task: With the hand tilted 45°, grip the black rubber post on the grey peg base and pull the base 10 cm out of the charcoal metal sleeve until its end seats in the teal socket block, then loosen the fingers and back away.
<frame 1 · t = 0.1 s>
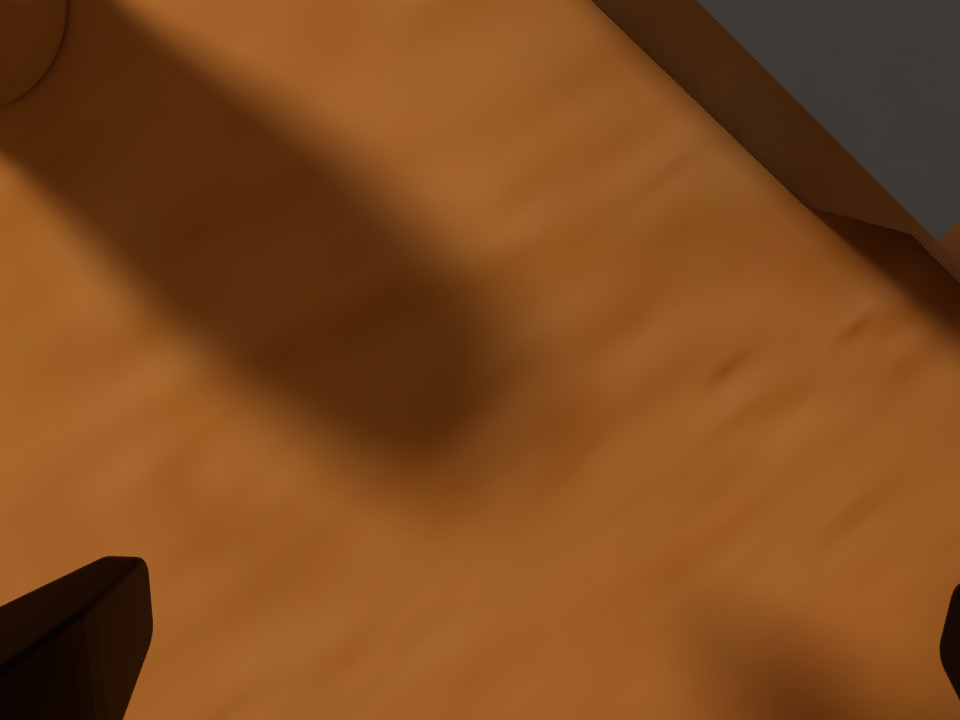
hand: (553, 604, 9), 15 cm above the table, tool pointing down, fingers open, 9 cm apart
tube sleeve: (887, 118, 22), on the table
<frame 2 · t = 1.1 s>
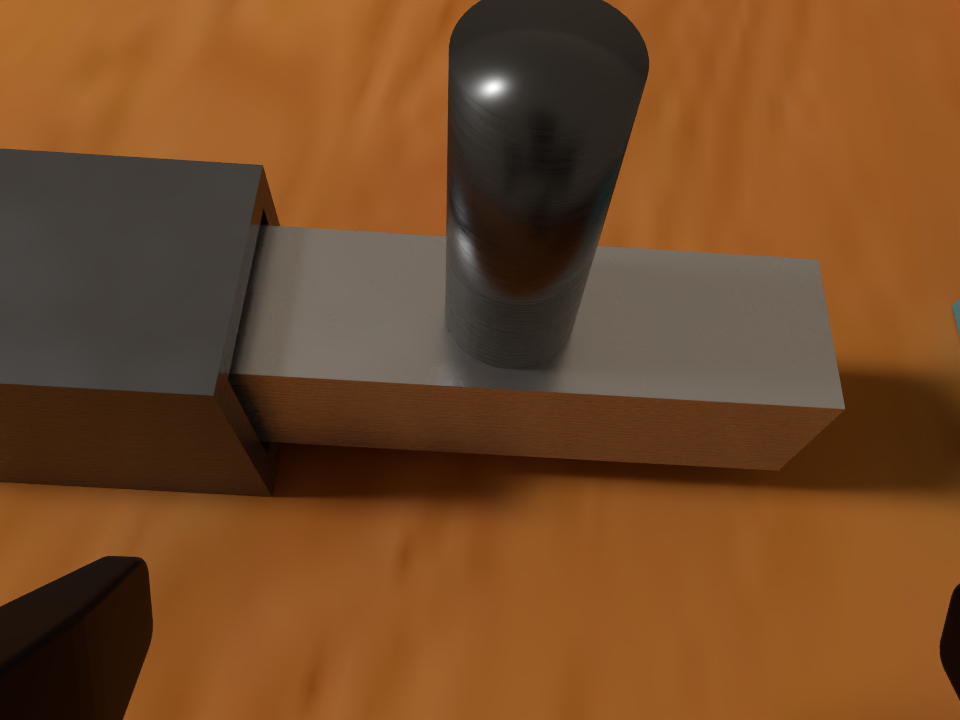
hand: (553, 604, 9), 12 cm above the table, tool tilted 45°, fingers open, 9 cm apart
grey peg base: (279, 254, 17), point 7 cm above the table, slide at 0.0 cm
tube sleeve: (288, 396, 24), on the table
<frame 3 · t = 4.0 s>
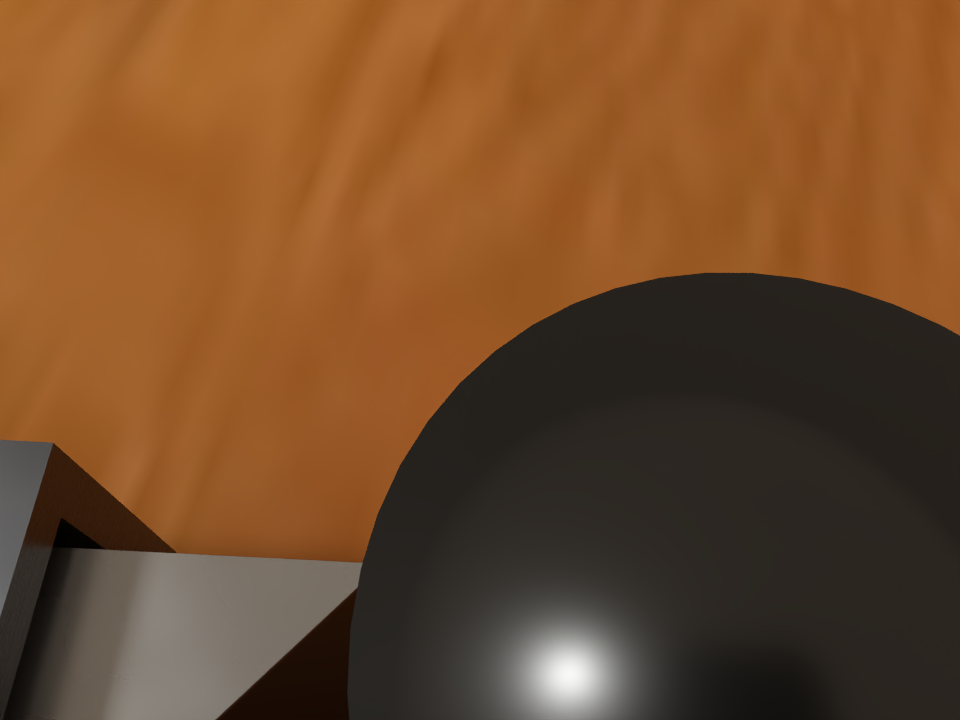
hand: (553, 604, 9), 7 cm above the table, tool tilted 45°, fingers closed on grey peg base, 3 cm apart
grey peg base: (37, 715, 8), point 7 cm above the table, slide at 0.0 cm, touching gripper
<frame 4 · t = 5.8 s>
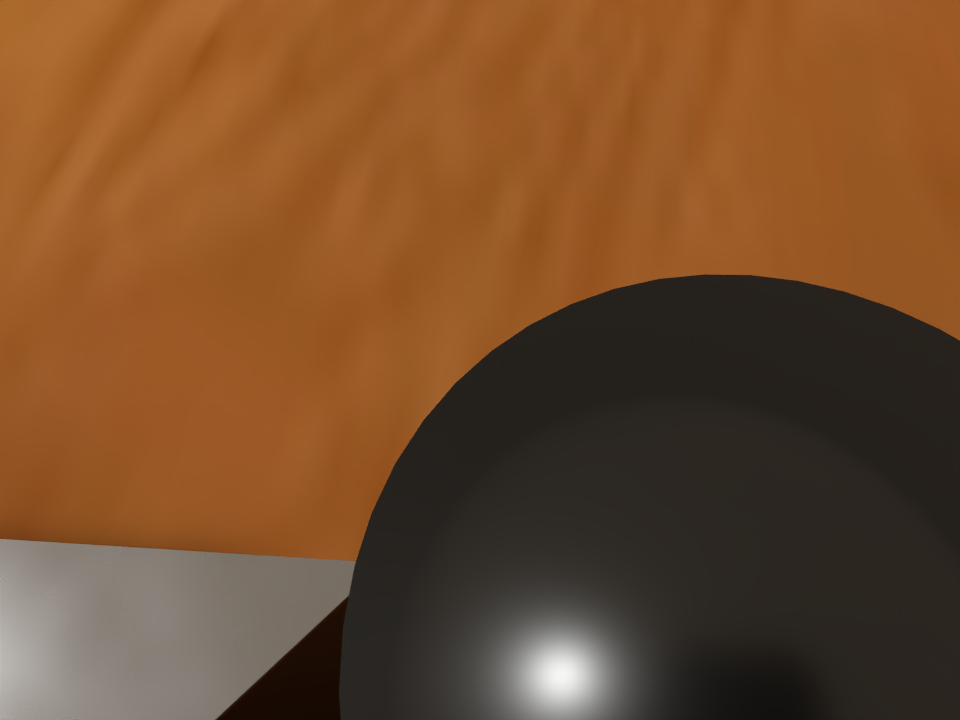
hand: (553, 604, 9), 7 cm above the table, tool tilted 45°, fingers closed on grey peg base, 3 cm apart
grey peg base: (37, 709, 8), point 7 cm above the table, slide at 6.3 cm, touching gripper
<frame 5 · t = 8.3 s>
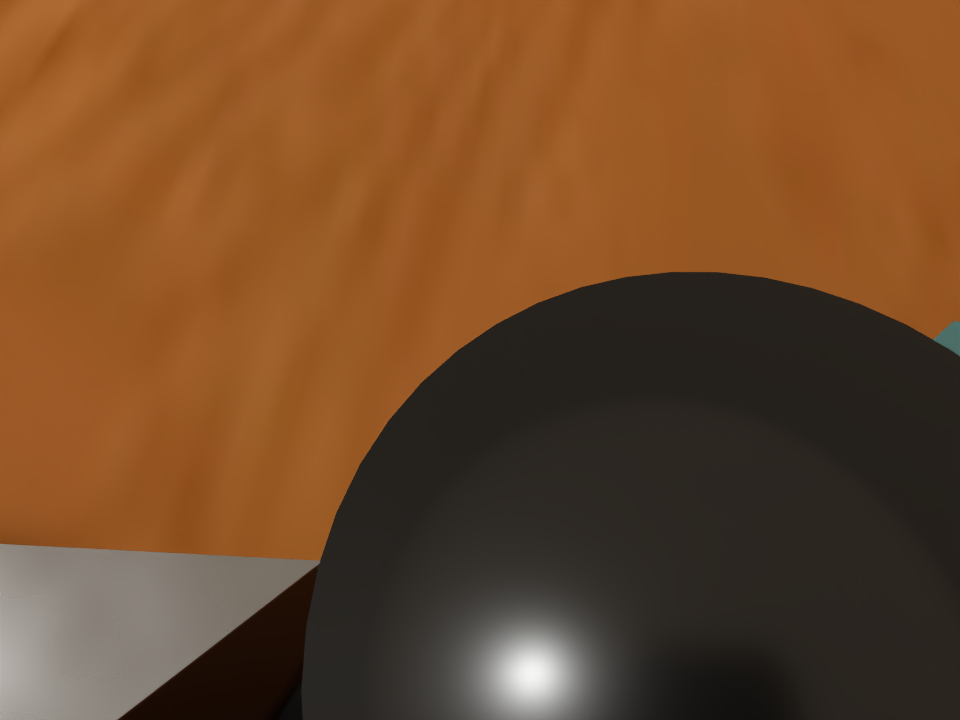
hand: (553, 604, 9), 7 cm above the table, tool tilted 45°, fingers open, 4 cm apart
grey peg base: (24, 714, 8), point 7 cm above the table, slide at 10.0 cm, touching socket block
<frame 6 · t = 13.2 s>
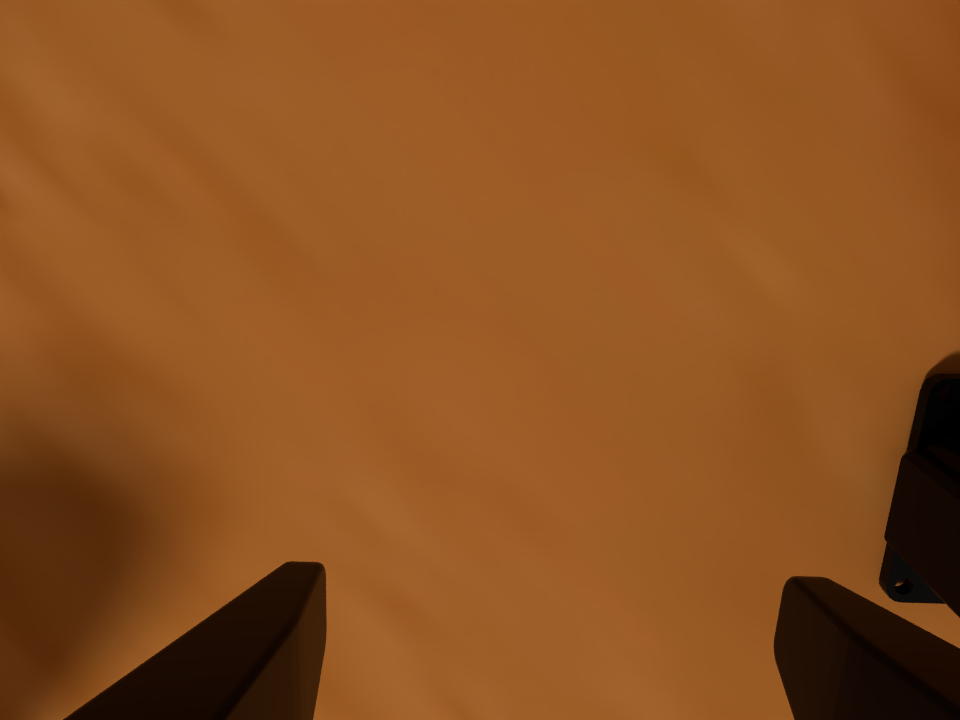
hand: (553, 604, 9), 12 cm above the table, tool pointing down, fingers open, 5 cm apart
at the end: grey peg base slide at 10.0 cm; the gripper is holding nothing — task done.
